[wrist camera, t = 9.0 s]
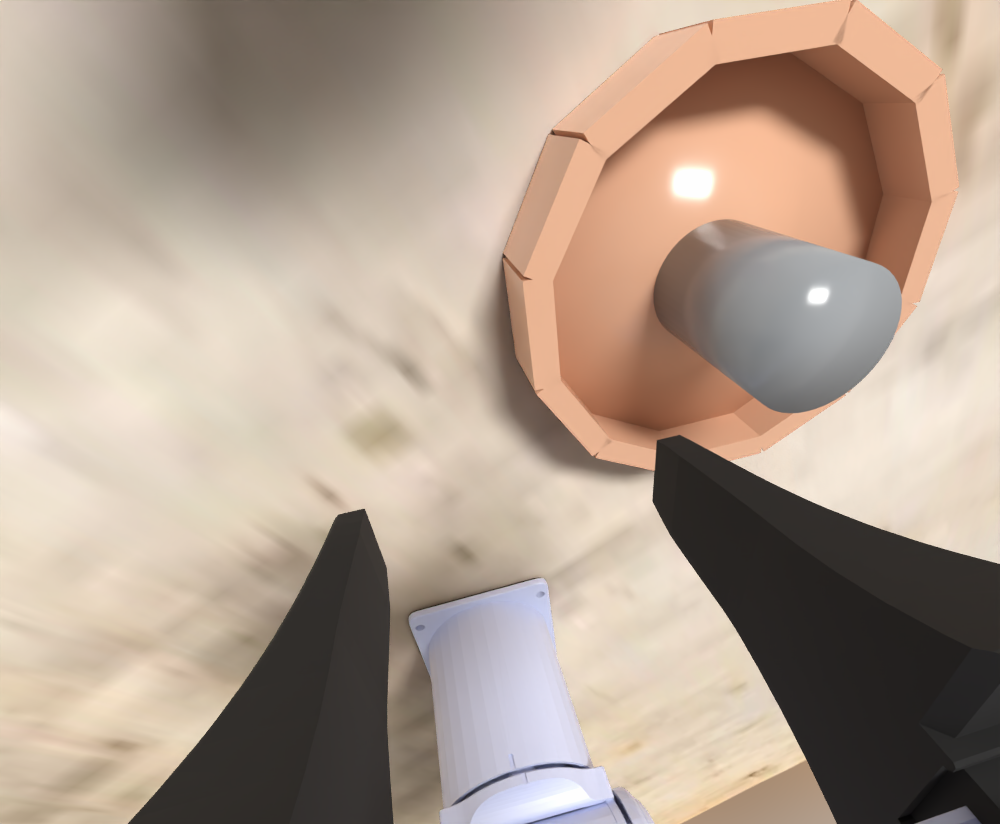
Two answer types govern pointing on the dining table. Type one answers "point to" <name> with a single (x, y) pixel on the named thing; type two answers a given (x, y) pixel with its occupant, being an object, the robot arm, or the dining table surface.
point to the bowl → (718, 208)
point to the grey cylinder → (777, 312)
